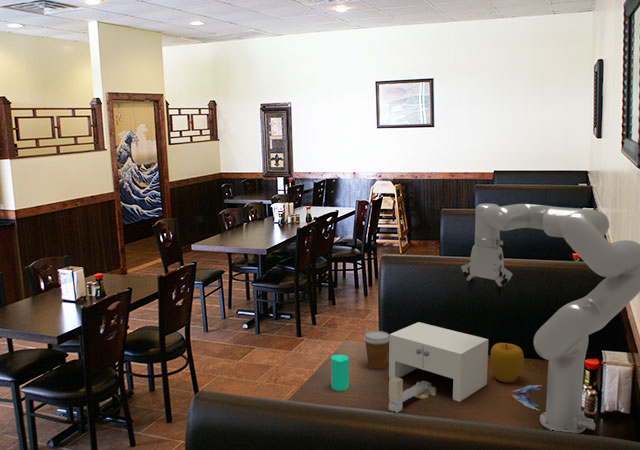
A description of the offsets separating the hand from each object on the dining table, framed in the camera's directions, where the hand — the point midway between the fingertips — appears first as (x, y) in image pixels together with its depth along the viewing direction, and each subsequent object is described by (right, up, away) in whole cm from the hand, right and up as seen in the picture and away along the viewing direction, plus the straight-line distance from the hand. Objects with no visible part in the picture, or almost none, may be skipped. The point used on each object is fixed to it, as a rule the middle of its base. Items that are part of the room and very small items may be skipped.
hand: (485, 294), depth 193 cm
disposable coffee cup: (-32, -30, +29) cm, 52 cm away
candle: (-46, -33, +11) cm, 58 cm away
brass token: (-20, -34, +4) cm, 39 cm away
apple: (+11, -31, +15) cm, 37 cm away
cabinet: (-13, -32, +15) cm, 37 cm away
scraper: (-24, -34, -1) cm, 42 cm away
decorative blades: (+14, -34, +3) cm, 37 cm away
